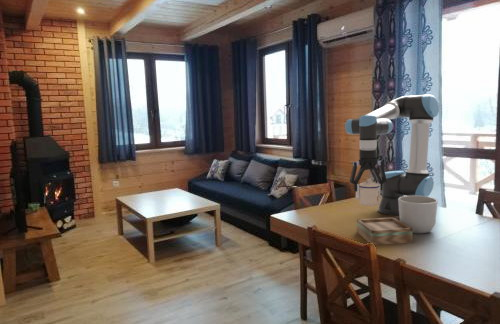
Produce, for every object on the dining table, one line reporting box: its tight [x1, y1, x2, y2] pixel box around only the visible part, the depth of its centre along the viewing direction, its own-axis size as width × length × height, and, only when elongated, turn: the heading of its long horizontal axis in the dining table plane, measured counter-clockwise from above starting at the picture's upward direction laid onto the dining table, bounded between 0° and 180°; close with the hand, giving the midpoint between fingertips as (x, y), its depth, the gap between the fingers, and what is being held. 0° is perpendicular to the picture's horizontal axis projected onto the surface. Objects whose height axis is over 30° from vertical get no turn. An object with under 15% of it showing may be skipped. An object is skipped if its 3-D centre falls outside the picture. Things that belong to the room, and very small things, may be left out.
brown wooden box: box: [356, 217, 413, 246], centre depth 171 cm, size 18×18×6 cm
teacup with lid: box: [358, 178, 380, 207], centre depth 173 cm, size 12×9×12 cm
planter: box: [398, 195, 439, 234], centre depth 178 cm, size 17×17×15 cm
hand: (367, 197), depth 174 cm, fingers closed on teacup with lid, 9 cm apart
